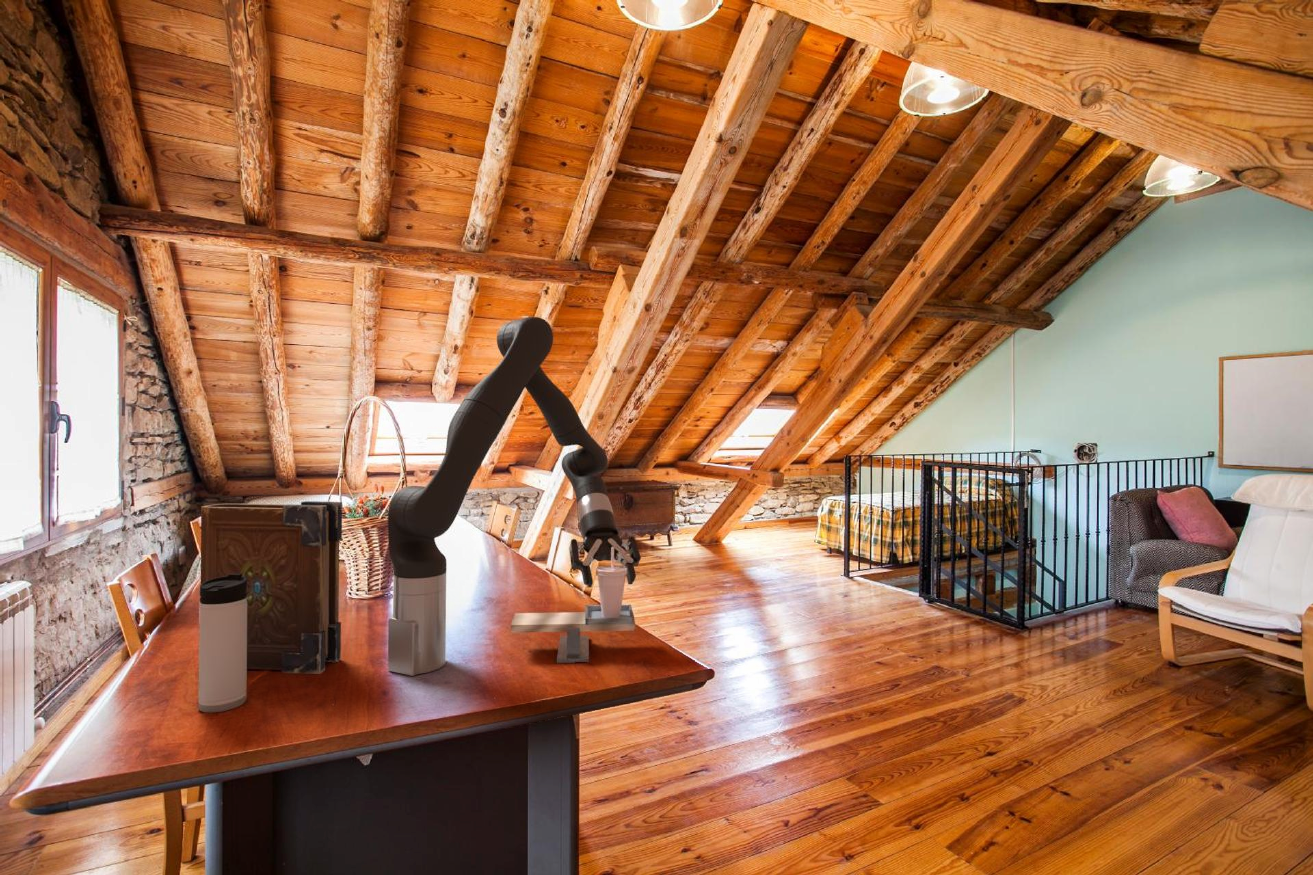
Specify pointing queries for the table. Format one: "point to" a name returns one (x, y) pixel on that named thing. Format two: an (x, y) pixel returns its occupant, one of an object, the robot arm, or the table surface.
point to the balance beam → (573, 621)
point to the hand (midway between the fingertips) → (611, 583)
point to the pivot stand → (573, 647)
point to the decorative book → (281, 578)
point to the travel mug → (222, 643)
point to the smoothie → (611, 587)
